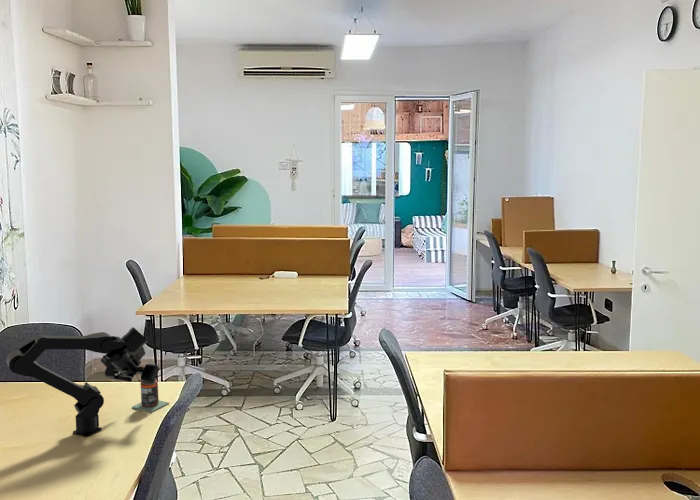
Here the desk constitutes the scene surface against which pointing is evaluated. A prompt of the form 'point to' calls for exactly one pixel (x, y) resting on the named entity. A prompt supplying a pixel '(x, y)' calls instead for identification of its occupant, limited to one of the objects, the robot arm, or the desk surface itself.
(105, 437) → the desk surface
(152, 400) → the supplement bottle
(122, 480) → the desk surface
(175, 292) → the desk surface
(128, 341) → the robot arm
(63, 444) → the desk surface
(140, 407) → the mat
